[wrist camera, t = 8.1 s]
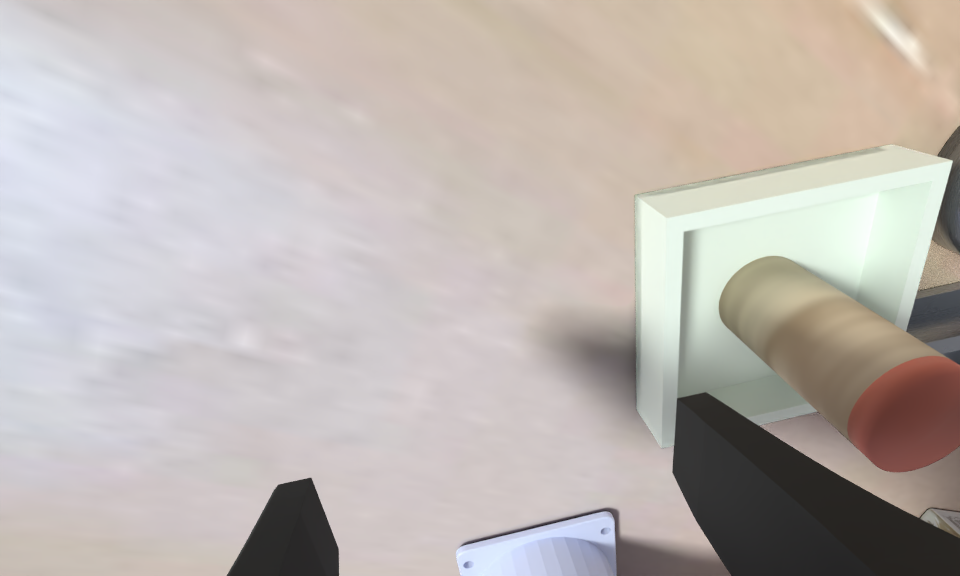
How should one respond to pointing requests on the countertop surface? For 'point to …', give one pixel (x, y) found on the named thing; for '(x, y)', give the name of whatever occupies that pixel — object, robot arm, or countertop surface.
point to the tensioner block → (938, 319)
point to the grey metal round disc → (950, 199)
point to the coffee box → (943, 520)
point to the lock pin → (847, 363)
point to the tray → (771, 232)
